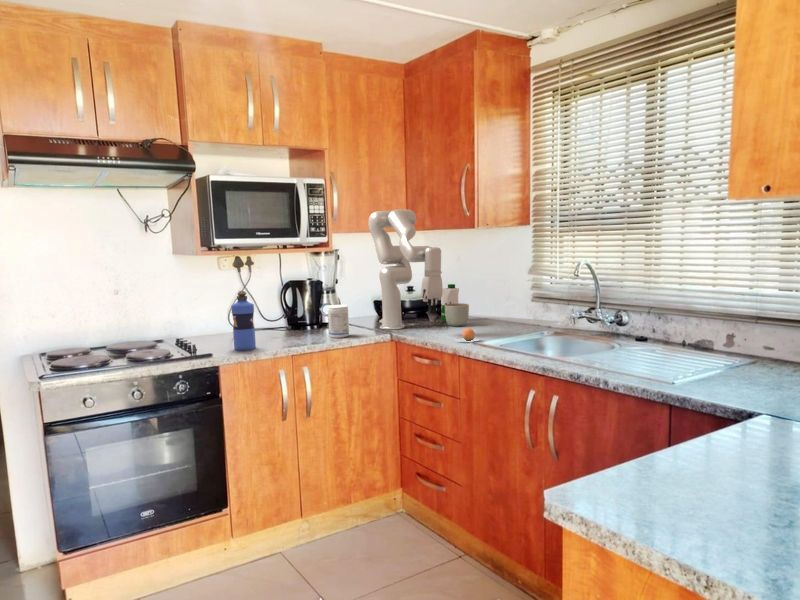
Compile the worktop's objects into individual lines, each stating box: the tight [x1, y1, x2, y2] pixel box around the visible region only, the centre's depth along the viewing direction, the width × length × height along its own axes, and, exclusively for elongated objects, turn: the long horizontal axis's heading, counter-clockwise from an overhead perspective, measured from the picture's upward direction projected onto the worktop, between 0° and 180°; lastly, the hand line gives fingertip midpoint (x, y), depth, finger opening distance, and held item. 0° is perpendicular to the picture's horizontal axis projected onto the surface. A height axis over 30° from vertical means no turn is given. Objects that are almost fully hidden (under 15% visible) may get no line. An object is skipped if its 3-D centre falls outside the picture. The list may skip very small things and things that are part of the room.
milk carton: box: [440, 283, 460, 322], centre depth 308 cm, size 9×9×20 cm
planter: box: [445, 302, 470, 327], centre depth 293 cm, size 12×12×11 cm
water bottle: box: [230, 290, 257, 352], centre depth 244 cm, size 9×9×25 cm
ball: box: [461, 328, 476, 341], centre depth 249 cm, size 6×6×6 cm
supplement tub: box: [327, 304, 350, 339], centre depth 269 cm, size 10×10×15 cm
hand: (432, 313), depth 265 cm, fingers closed
